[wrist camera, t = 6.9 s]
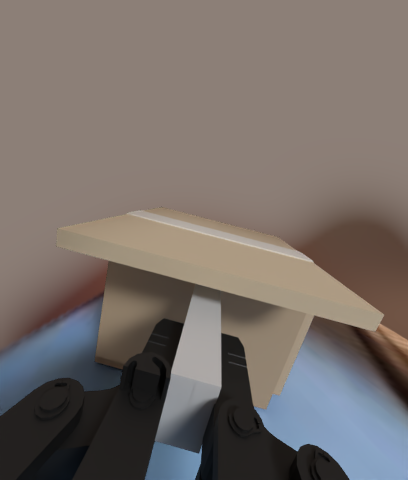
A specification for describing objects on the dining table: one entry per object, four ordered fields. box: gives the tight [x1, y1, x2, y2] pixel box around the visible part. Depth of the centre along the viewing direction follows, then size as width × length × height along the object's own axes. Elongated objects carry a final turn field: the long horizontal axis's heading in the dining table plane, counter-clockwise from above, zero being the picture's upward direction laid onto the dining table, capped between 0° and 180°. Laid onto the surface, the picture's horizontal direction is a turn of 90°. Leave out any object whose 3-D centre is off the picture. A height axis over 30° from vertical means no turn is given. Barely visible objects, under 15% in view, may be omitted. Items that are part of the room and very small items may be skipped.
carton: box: [95, 261, 314, 409], centre depth 19 cm, size 15×10×11 cm
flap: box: [56, 207, 384, 332], centre depth 15 cm, size 14×15×1 cm
